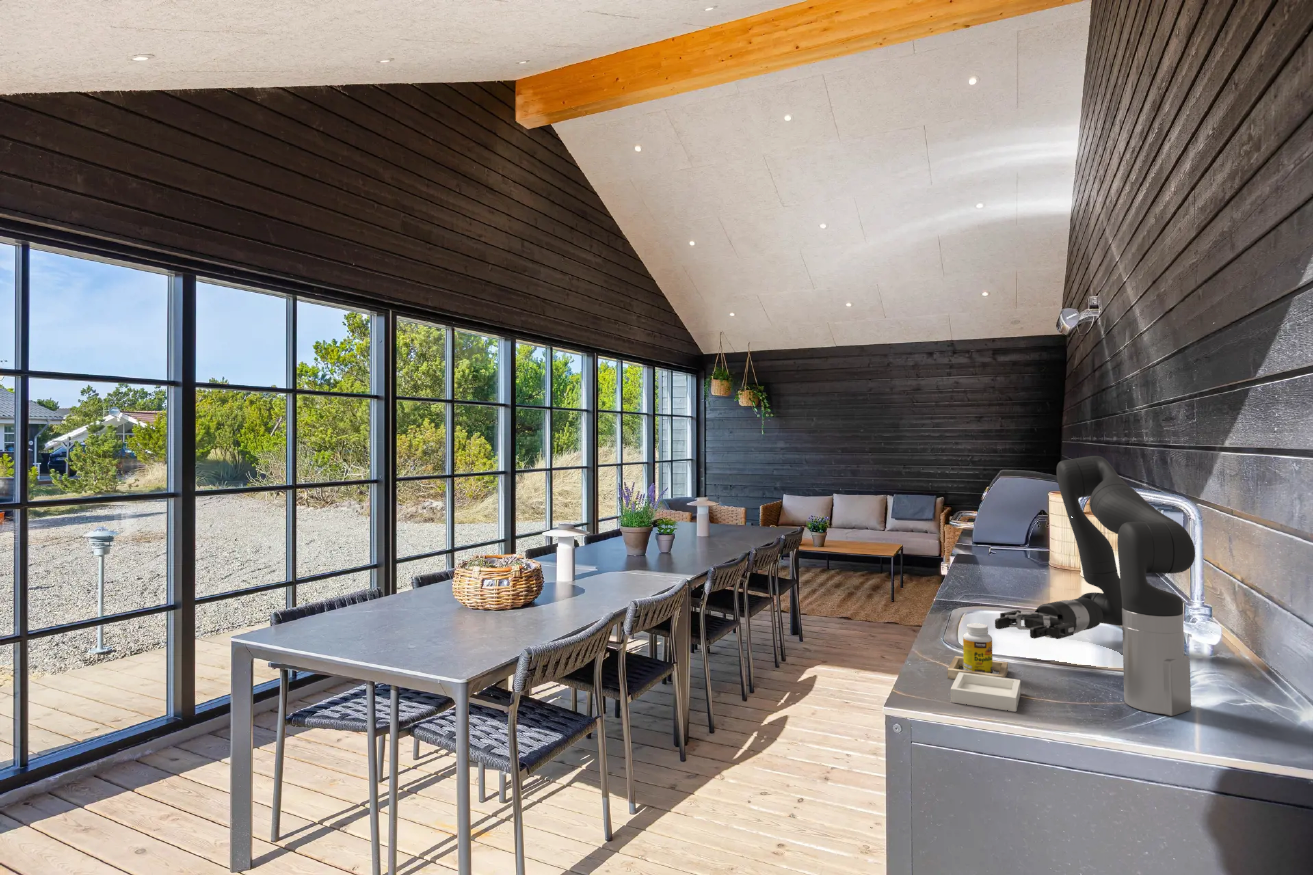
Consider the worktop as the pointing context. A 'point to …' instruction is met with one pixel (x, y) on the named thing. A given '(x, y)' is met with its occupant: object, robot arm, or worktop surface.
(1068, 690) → the worktop surface
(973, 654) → the supplement bottle
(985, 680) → the parts tray
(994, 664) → the square wooden frame
